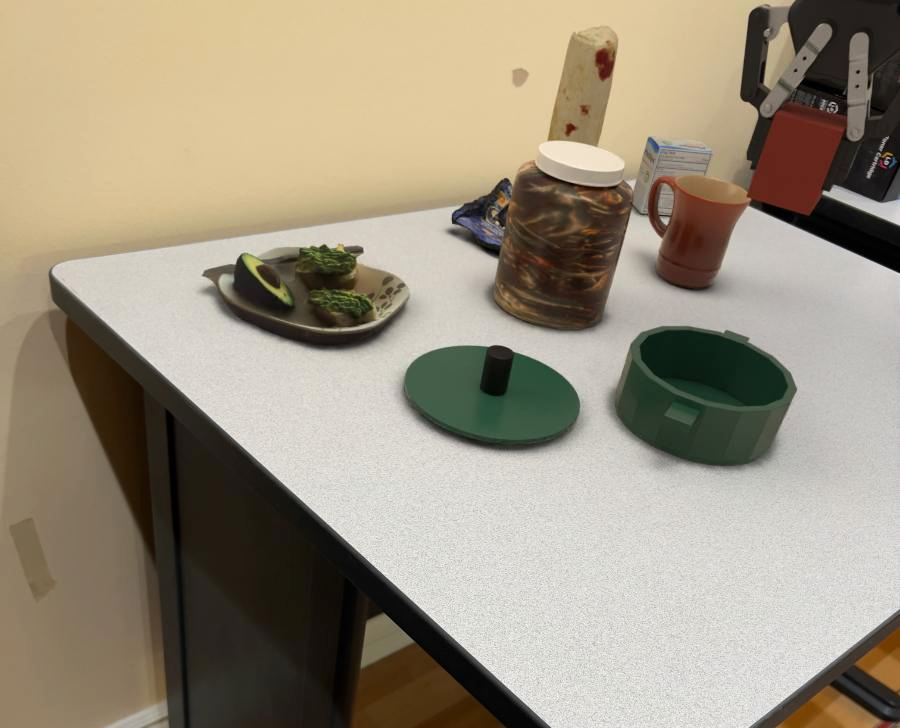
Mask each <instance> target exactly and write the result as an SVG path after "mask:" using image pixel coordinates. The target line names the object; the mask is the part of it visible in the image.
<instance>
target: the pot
mask: <svg viewBox="0 0 900 728" xmlns="http://www.w3.org/2000/svg"><path fill="white" fill-rule="evenodd" d="M750 339H751V337H748V336H746V335H744V334H740V333H738V332H735V331H732V330H730V329H725V330H724V331H723V332H721V331H718V330H712V329H707V328H703V327H702V328H701V327H697V326H691V325H662V326H661V325H660V326H658V327H654V328H650V329H646V330H644V331H641V332H639V334H638V335H637V336H636V337H635V338H634V339H633V340H632V341H631V343H630V345H629V348H628V351H627V354H626V358H625V360H624V364H623V367H622V370H621V373H620V377H619V380H618V382H617V387H616V390H615V398H614V408H615V411H616V414H617V416H618V417H619V419H620V421H621V422H622V424H623V425H624V426H625V427H626V428H627V429H628V430H629V431H630V432H631V433H633V434H634V435H635V436H636V437H638V438H639V439H640V440H642V441H643V442H645V443H646V444H648V445H650V446H652V447H653V448H655V449H656V450H658V451H661V452H664V453H666V454H669V455H671V456H672V457H676V458H679V459H683V460H686V461H690V462H693V463H698V464H704V465H711V466H721V467H723V466H725V467H726V466H727V467H729V466H741V465H745V464H750V463H753V462H755V461H757V460H759V459H761V458H763V457H764V456H766V454H767V453H768V452H769V450H770V449H771V446H772V445H773V443H774V441H775V439H776V436H777V435H778V432H779V430H780V428H781V425H782V423H783V421H784V419H785V417H786V415H787V413H788V410H789V408H790V406H791V404H792V402H793V399H795V396H796V394H797V391H798V388H797V385H796V382H795V380H794V377H793V375H792V372H791V371H790V370H789V369H787V367H785V365H783V364H782V363H781V362H780V361H779V360H778V359H777V358H776V357H775V356H774V355H772V354H770V353H769V352H767V351H765V350H763V349H761V348H760V347H759V346H757V345H754V344H752V343H751V342H750Z"/></svg>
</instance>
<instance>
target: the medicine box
mask: <svg viewBox="0 0 900 728" xmlns="http://www.w3.org/2000/svg"><path fill="white" fill-rule="evenodd" d="M643 150H644V151H643V154H642V158H641V161H640V165H639V169H638V172H637V176H636V179H635V182H634V186H633V193H634V199H633V205H632V206H634V208H635V209H636V210H637V211H638V212H639V213H640V214H643V215H648V198H649V193H650V190H651V187H652V185H653V183H654V181H655V180H656V179H658V178H659V177H662V176H672V177H675V178H676V177H678V176H681V175H690V174H691V175H702V176H708V175H707V174H708V171H709V168H710V165H711V162H712V160H713V157H714V152H713V151H712V150H711V148H709V146H707V145H706V144H705V143H704V142H702V141H701V140H695V139H687V138H676V137H663V136H651V135H650V136H647V140H646V143H645V147H644V149H643ZM673 198H674V193H673V192H672V190H671V188H670V186H668V185H667V184H665V183H664V185H663V187H662V189H661V193H660V197H659V204H658V212H659V216H671V212H672V207H673Z"/></svg>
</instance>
